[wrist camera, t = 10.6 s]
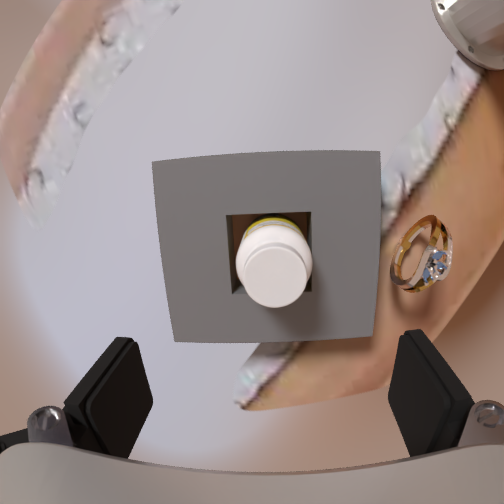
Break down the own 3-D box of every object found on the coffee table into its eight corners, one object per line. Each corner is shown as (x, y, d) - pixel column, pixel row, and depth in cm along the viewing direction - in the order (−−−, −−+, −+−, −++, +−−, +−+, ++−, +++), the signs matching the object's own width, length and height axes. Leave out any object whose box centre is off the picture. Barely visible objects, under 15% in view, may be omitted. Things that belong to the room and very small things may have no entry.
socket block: (364, 152, 27) (380, 151, 23) (360, 314, 31) (372, 336, 27) (169, 161, 28) (151, 161, 24) (186, 320, 33) (174, 341, 28)
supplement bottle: (283, 280, 30) (288, 332, 20) (232, 252, 29) (214, 292, 20) (314, 231, 29) (335, 263, 19) (262, 200, 28) (257, 218, 19)
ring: (393, 278, 30) (426, 312, 22) (370, 262, 30) (400, 293, 22) (432, 222, 28) (475, 241, 21) (410, 203, 28) (451, 218, 20)
